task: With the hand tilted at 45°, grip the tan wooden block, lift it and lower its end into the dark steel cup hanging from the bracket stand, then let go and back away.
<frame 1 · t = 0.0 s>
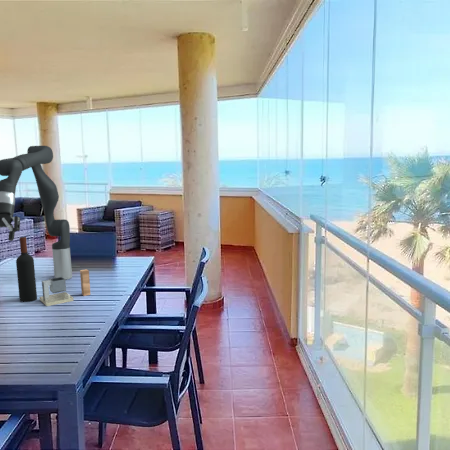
hand: (0, 240, 181), 31 cm above the table, tool tilted 20°, fingers open, 8 cm apart
cup bracket: (58, 299, 202), on the table
tan wooden block: (86, 294, 209), on the table
wine bottle: (28, 300, 203), on the table
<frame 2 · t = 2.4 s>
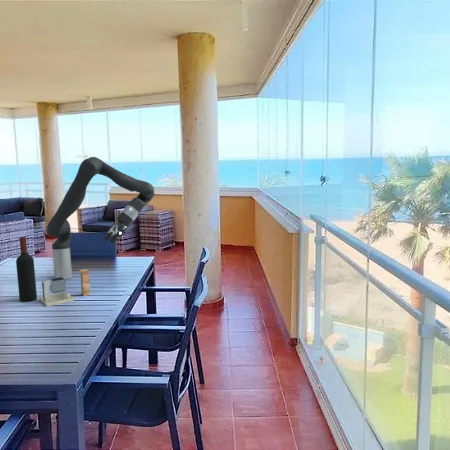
hand: (107, 241, 213), 25 cm above the table, tool tilted 45°, fingers open, 8 cm apart
nothing on the table moved.
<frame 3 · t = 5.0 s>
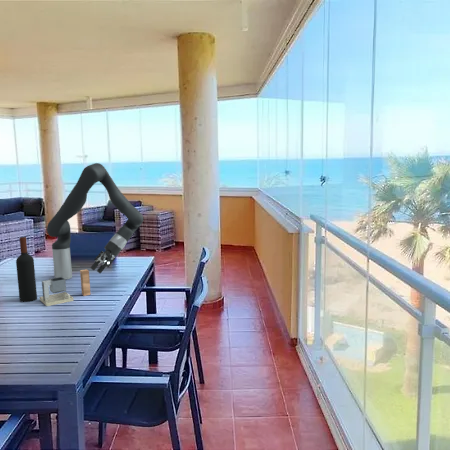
hand: (95, 270, 211), 11 cm above the table, tool tilted 45°, fingers open, 8 cm apart
nothing on the table moved.
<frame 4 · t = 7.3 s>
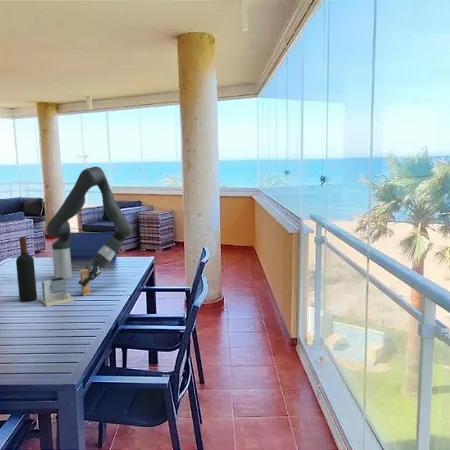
hand: (81, 284, 207), 5 cm above the table, tool tilted 45°, fingers closed on tan wooden block, 3 cm apart
tan wooden block: (86, 294, 209), on the table, touching gripper
everything else where it was.
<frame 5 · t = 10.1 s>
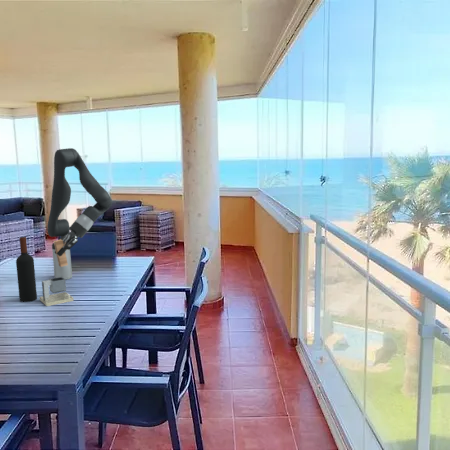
hand: (57, 254, 199), 22 cm above the table, tool tilted 45°, fingers closed on tan wooden block, 3 cm apart
tan wooden block: (63, 265, 201), point 16 cm above the table, tilted 7°, touching gripper
everything else where it was.
when the fingers open (12 cm above the table, at t = 13.0 s): tan wooden block drops 1 cm, resting on cup bracket.
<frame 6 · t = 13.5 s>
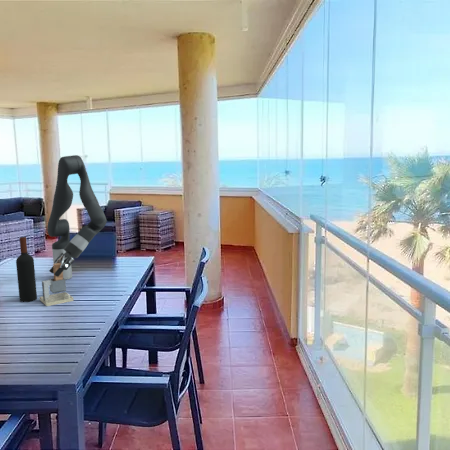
hand: (53, 274, 199), 13 cm above the table, tool tilted 45°, fingers open, 7 cm apart
tan wooden block: (58, 289, 201), point 5 cm above the table, touching cup bracket
everything else where it was.
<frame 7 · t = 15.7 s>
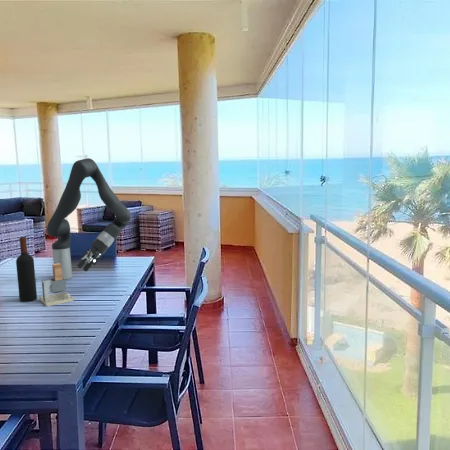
hand: (81, 268, 207), 13 cm above the table, tool tilted 45°, fingers open, 8 cm apart
nothing on the table moved.
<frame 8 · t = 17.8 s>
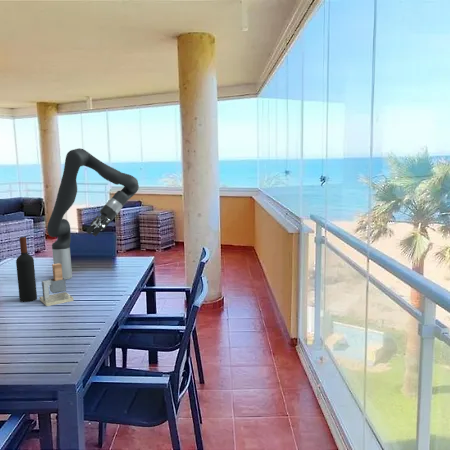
hand: (90, 234, 212), 29 cm above the table, tool tilted 45°, fingers open, 8 cm apart
nothing on the table moved.
at the end: tan wooden block 0.4 cm off-centre on the cup bracket, point 5.0 cm above the cup bracket's base; tan wooden block tilted 0°; the gripper is holding nothing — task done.
